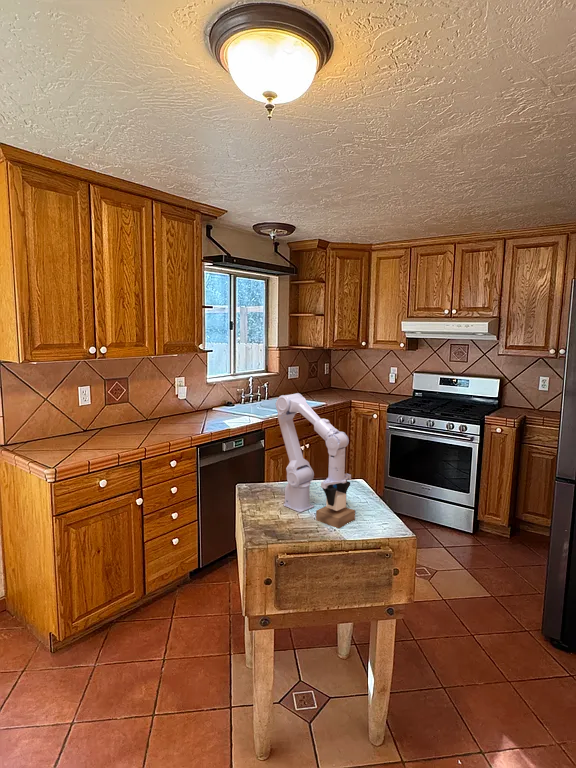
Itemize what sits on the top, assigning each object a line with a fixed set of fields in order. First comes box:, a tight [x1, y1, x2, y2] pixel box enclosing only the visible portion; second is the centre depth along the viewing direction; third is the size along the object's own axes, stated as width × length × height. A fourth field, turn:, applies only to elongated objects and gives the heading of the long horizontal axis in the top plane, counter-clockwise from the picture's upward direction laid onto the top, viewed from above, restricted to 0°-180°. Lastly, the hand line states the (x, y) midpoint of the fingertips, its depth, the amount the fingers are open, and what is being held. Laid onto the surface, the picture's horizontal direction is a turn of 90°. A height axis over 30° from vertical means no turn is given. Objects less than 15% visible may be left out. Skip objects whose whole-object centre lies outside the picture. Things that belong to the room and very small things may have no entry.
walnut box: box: [315, 506, 356, 529], centre depth 163 cm, size 10×10×4 cm
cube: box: [325, 491, 347, 511], centre depth 163 cm, size 5×5×5 cm
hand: (335, 502), depth 163 cm, fingers closed on cube, 5 cm apart
